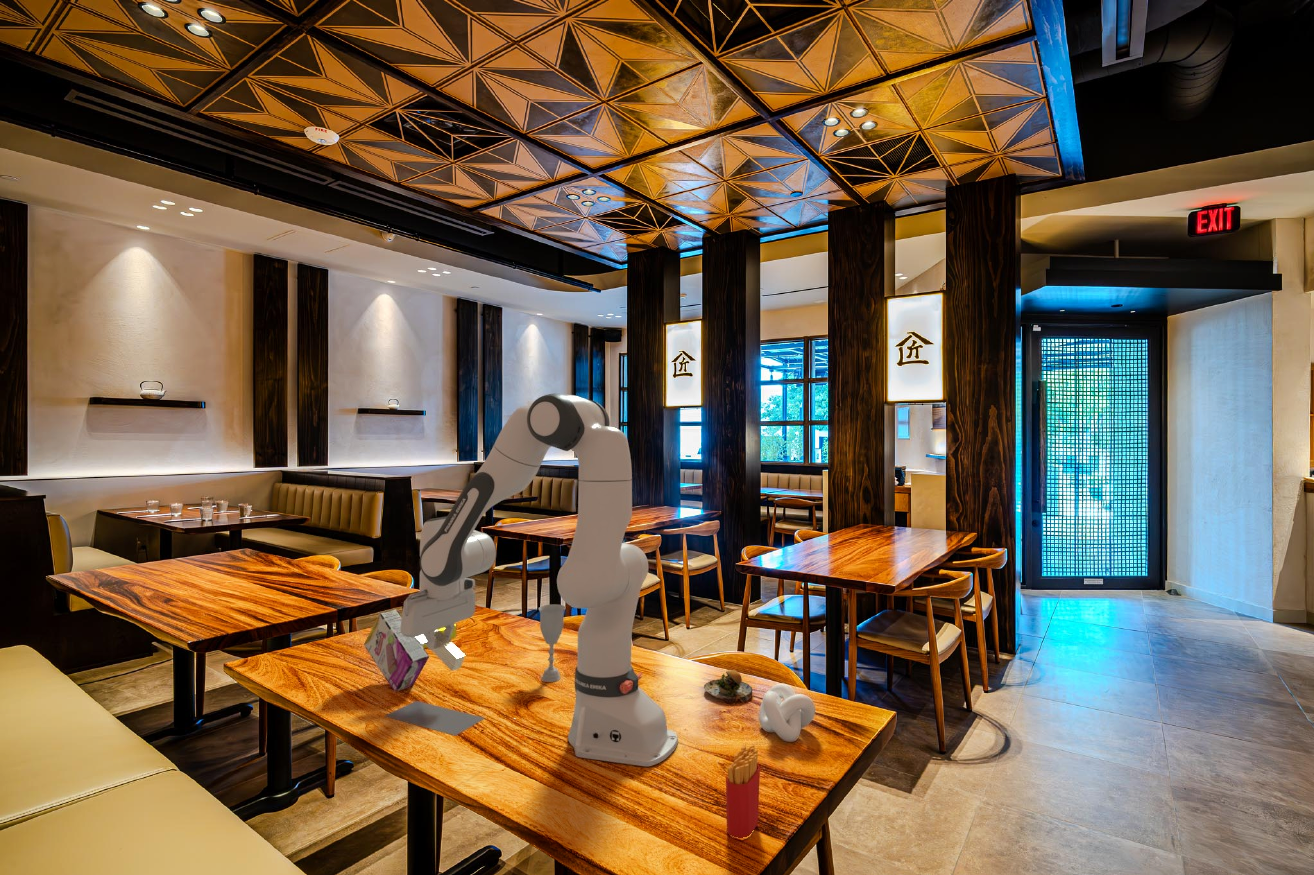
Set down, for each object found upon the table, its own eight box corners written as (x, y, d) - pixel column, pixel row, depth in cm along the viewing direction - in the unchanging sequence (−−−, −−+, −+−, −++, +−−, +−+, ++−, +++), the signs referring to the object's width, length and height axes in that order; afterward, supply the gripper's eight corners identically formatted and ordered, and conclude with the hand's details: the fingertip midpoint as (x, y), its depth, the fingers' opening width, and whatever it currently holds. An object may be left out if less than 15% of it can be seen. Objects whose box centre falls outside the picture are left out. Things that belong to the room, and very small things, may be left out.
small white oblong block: (464, 666, 143) (469, 653, 142) (447, 673, 139) (452, 660, 138) (421, 623, 151) (425, 611, 150) (403, 628, 147) (408, 615, 146)
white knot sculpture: (803, 753, 122) (804, 707, 122) (746, 738, 128) (746, 695, 128) (818, 730, 132) (819, 688, 132) (764, 718, 138) (765, 677, 138)
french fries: (740, 811, 102) (741, 738, 102) (763, 819, 100) (763, 744, 100) (719, 840, 95) (720, 761, 95) (744, 848, 93) (745, 767, 93)
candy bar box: (394, 695, 147) (362, 645, 155) (412, 688, 151) (380, 640, 159) (412, 661, 144) (378, 612, 152) (430, 655, 148) (397, 608, 156)
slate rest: (485, 722, 134) (485, 718, 134) (455, 740, 125) (455, 735, 125) (416, 705, 142) (416, 700, 142) (383, 720, 134) (384, 716, 134)
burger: (707, 683, 158) (707, 654, 158) (753, 688, 155) (754, 658, 156) (700, 702, 146) (701, 671, 146) (751, 707, 144) (751, 675, 144)
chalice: (558, 684, 155) (559, 612, 155) (532, 682, 156) (534, 610, 157) (568, 674, 162) (569, 605, 162) (543, 672, 164) (544, 603, 164)
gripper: (415, 597, 133) (414, 662, 133) (480, 579, 152) (479, 636, 152) (393, 594, 136) (393, 657, 136) (460, 576, 155) (459, 632, 154)
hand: (439, 646), depth 144 cm, fingers closed on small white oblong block, 3 cm apart
